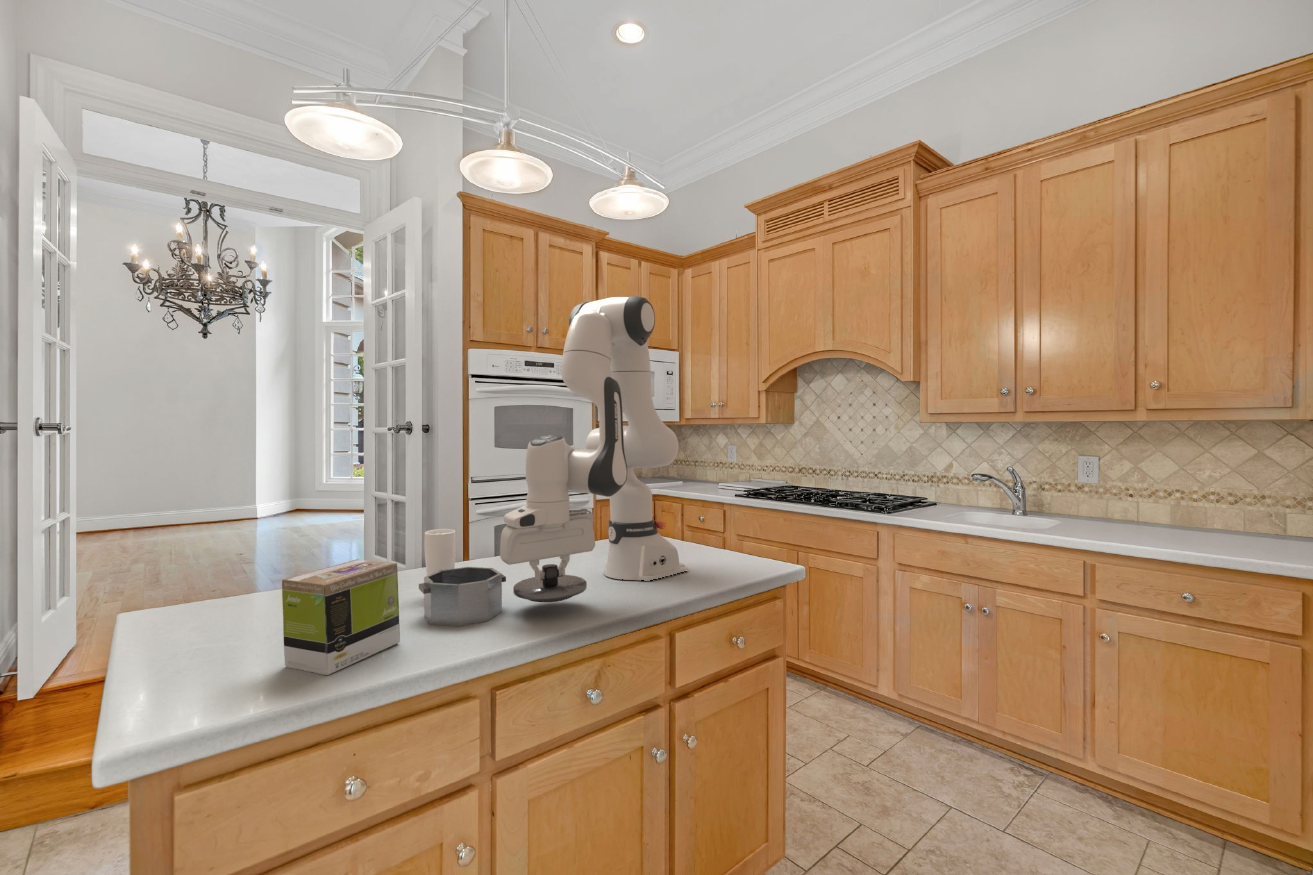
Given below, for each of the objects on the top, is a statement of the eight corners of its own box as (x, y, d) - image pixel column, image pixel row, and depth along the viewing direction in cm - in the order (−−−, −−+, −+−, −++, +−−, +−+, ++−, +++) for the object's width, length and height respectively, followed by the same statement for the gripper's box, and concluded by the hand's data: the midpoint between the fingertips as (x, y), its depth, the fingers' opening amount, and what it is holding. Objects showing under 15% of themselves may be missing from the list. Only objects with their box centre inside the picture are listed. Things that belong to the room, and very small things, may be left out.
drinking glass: (461, 593, 137) (460, 529, 137) (448, 601, 130) (447, 534, 130) (433, 592, 138) (432, 528, 137) (419, 601, 131) (418, 533, 131)
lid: (568, 579, 135) (567, 553, 134) (599, 596, 122) (598, 568, 122) (503, 591, 126) (502, 564, 126) (529, 611, 114) (528, 581, 113)
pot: (492, 598, 132) (491, 563, 132) (514, 615, 121) (514, 577, 120) (413, 611, 123) (413, 573, 123) (429, 631, 111) (429, 589, 111)
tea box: (359, 636, 109) (358, 557, 109) (401, 644, 105) (400, 561, 105) (281, 668, 95) (280, 576, 95) (326, 677, 91) (325, 582, 91)
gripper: (586, 505, 131) (587, 566, 132) (496, 516, 120) (498, 583, 121) (599, 509, 126) (600, 573, 127) (506, 521, 115) (508, 590, 116)
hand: (550, 578), depth 124 cm, fingers closed on lid, 3 cm apart
